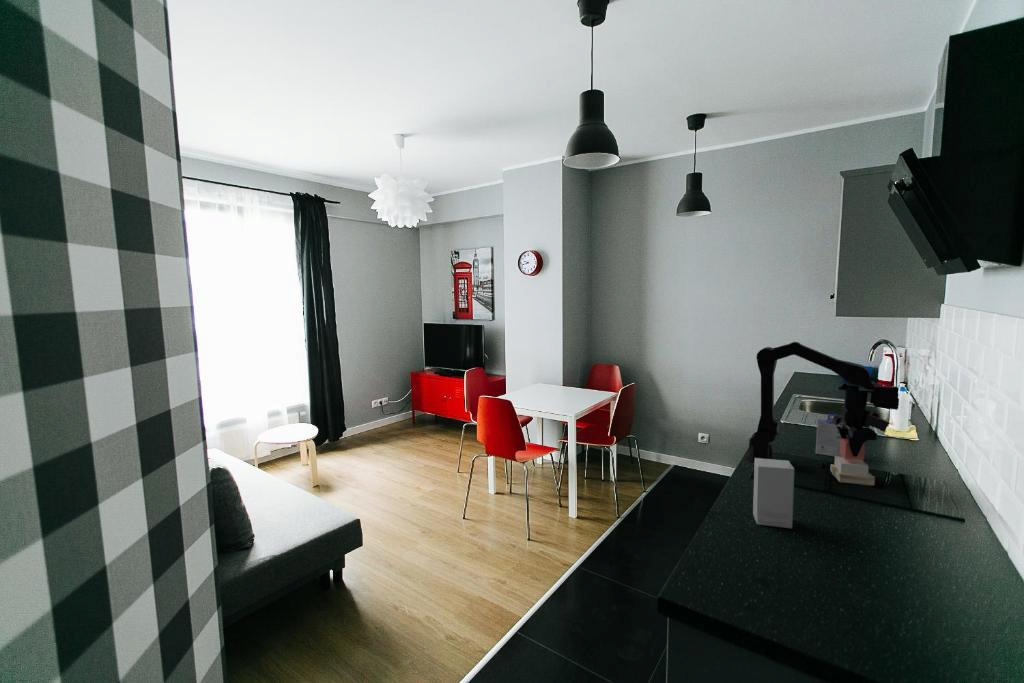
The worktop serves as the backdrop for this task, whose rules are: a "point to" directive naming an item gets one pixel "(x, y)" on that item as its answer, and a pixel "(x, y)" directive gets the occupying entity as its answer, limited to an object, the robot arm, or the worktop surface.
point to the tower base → (852, 477)
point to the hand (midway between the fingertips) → (851, 453)
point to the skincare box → (773, 492)
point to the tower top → (851, 466)
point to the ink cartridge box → (828, 437)
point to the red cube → (846, 450)
